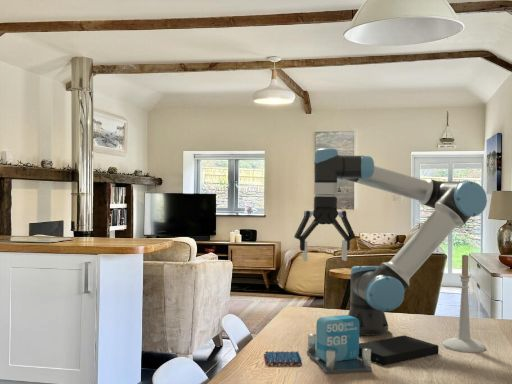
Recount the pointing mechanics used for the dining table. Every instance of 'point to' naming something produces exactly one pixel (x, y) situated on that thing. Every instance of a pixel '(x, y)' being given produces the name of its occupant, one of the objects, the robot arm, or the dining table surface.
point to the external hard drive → (398, 349)
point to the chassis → (339, 366)
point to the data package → (337, 337)
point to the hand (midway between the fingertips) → (324, 260)
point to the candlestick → (464, 319)
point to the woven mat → (282, 358)
